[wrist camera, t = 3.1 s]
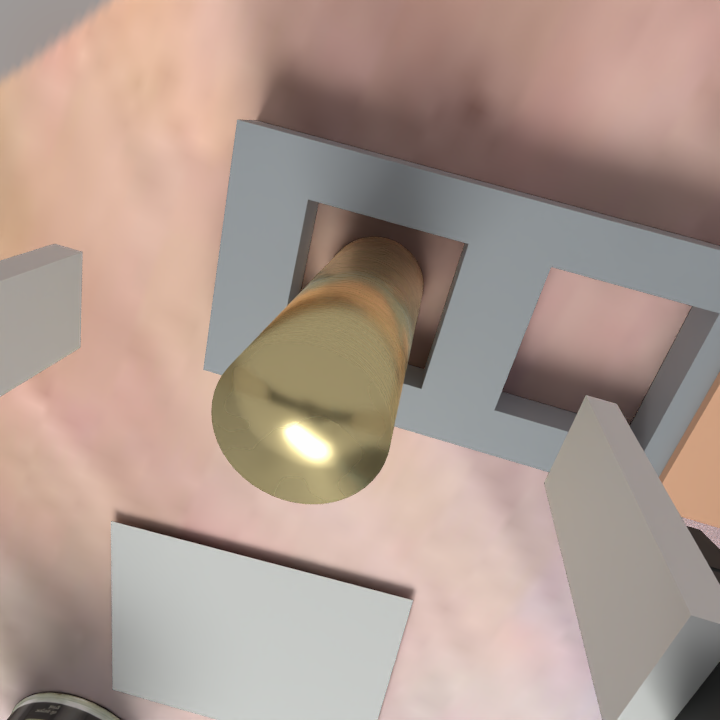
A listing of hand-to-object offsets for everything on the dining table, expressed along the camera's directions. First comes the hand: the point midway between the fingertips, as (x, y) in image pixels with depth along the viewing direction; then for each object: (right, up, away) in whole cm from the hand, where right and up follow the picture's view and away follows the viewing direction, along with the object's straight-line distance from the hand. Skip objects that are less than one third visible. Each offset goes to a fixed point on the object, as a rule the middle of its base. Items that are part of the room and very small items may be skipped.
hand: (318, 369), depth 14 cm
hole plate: (+10, +1, +8) cm, 13 cm away
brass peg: (+2, +3, +9) cm, 10 cm away
